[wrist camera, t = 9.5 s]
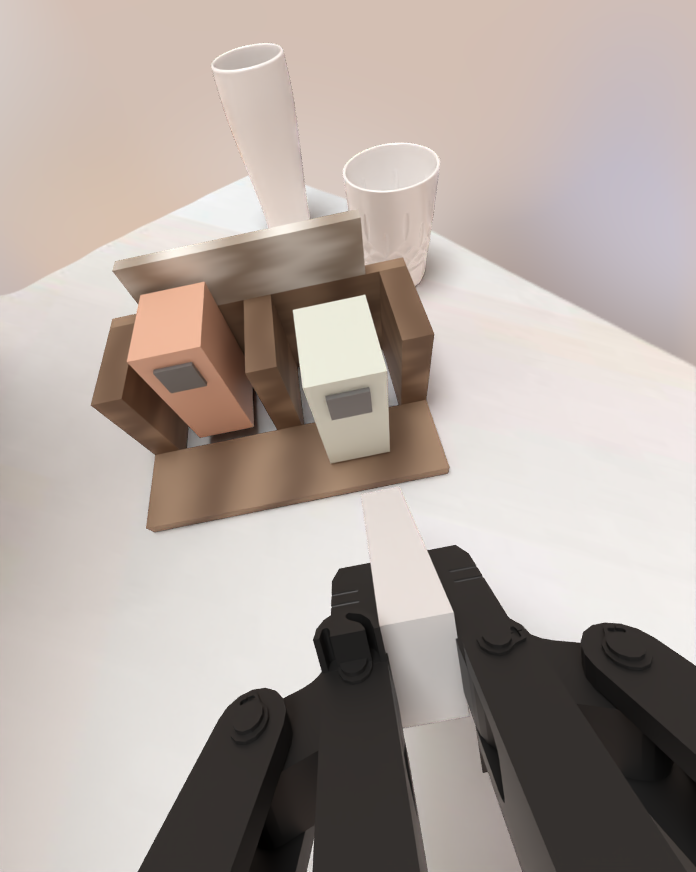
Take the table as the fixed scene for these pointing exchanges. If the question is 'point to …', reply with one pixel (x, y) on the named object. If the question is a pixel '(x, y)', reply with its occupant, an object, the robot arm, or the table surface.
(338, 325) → the cream rectangular block
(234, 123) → the drinking glass
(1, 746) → the table surface
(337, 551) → the table surface
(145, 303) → the peach rectangular block
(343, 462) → the wooden rack
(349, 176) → the white cup
